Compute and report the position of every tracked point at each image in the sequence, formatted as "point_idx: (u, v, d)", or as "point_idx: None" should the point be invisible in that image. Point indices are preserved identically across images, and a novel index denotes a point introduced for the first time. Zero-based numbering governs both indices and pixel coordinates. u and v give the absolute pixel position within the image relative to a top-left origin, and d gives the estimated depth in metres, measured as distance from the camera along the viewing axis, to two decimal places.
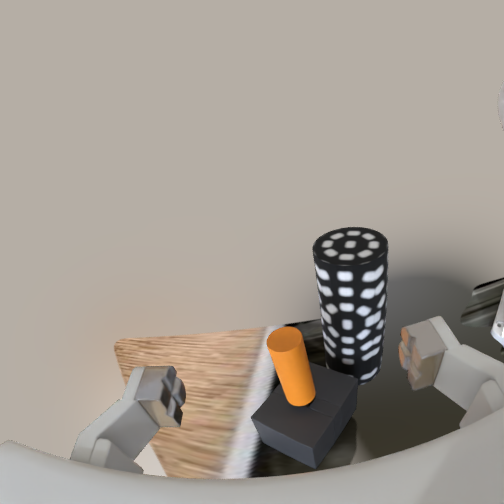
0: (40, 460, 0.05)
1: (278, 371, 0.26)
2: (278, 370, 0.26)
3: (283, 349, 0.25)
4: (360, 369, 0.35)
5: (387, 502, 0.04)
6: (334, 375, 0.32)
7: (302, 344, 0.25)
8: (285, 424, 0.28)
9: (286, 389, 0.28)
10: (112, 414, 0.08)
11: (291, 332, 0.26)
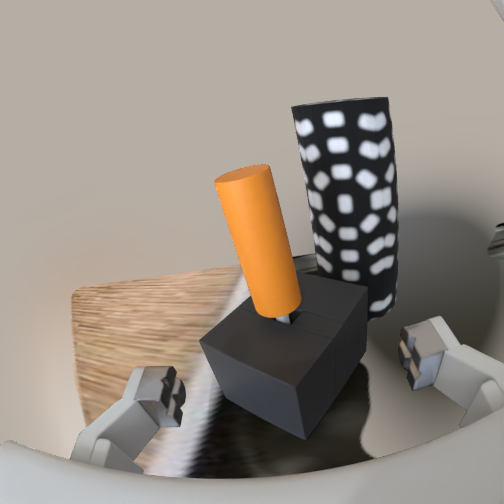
0: (40, 460, 0.05)
1: (234, 234, 0.17)
2: (233, 231, 0.17)
3: (237, 178, 0.15)
4: (369, 291, 0.26)
5: (387, 502, 0.04)
6: (332, 284, 0.23)
7: (270, 178, 0.16)
8: (252, 349, 0.18)
9: (249, 277, 0.18)
10: (112, 414, 0.08)
11: (254, 167, 0.17)
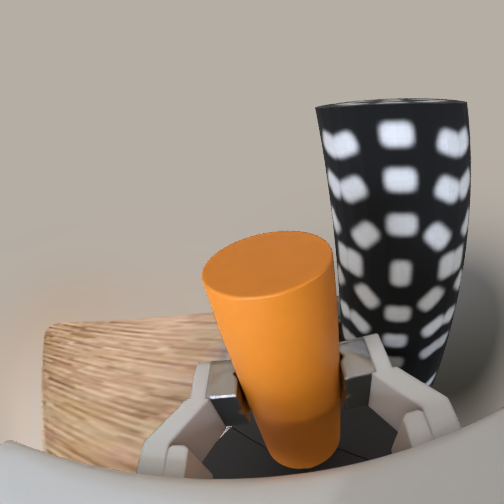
0: (40, 460, 0.05)
1: (242, 379, 0.08)
2: (242, 376, 0.08)
3: (258, 286, 0.06)
4: None
5: (387, 502, 0.04)
6: None
7: (333, 280, 0.07)
8: None
9: (265, 431, 0.09)
10: (182, 416, 0.07)
11: (292, 241, 0.08)
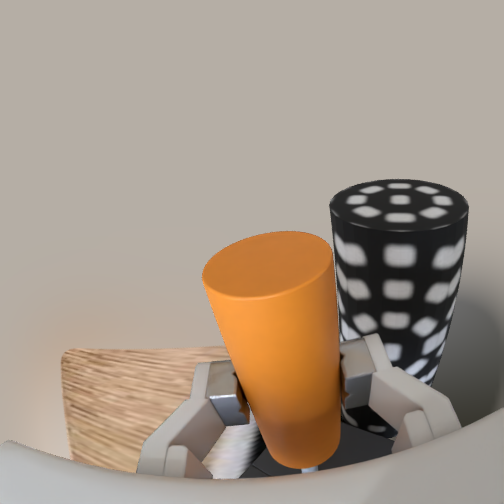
0: (40, 460, 0.05)
1: (242, 380, 0.08)
2: (242, 376, 0.08)
3: (258, 286, 0.06)
4: None
5: (387, 502, 0.04)
6: (362, 438, 0.16)
7: (333, 280, 0.07)
8: None
9: (265, 431, 0.09)
10: (182, 416, 0.07)
11: (292, 242, 0.08)
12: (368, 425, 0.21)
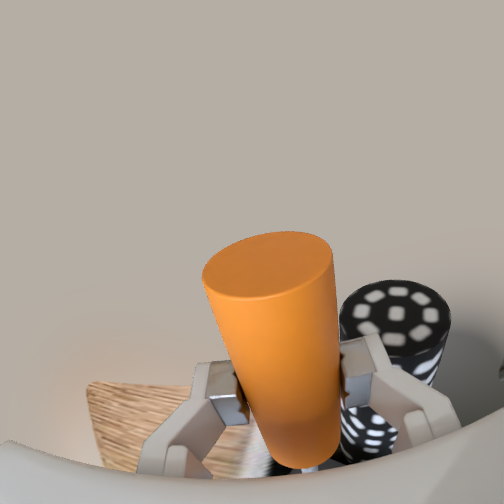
0: (40, 460, 0.05)
1: (242, 380, 0.08)
2: (242, 377, 0.08)
3: (258, 287, 0.06)
4: (384, 455, 0.23)
5: (387, 502, 0.04)
6: None
7: (332, 280, 0.07)
8: None
9: (265, 431, 0.09)
10: (182, 416, 0.07)
11: (292, 242, 0.08)
12: (361, 459, 0.24)
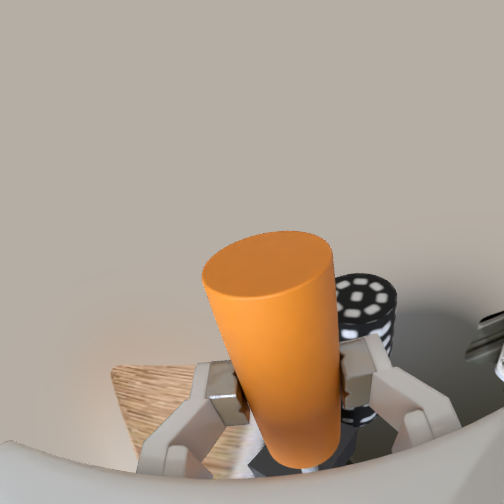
0: (40, 460, 0.05)
1: (242, 380, 0.08)
2: (242, 376, 0.08)
3: (258, 286, 0.06)
4: (360, 414, 0.32)
5: (387, 502, 0.04)
6: None
7: (332, 280, 0.07)
8: (282, 474, 0.25)
9: (265, 431, 0.09)
10: (182, 416, 0.07)
11: (292, 241, 0.08)
12: (342, 418, 0.34)
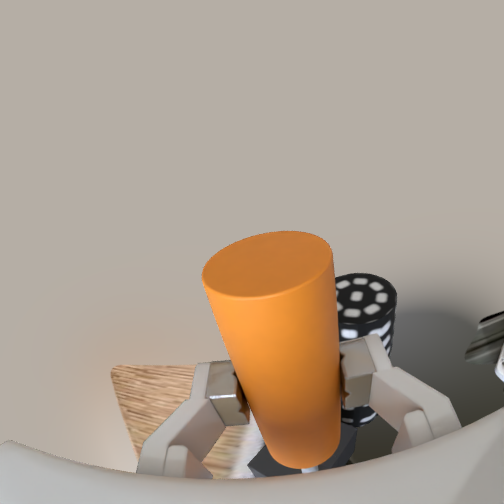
0: (40, 460, 0.05)
1: (242, 380, 0.08)
2: (242, 376, 0.08)
3: (258, 287, 0.06)
4: (360, 414, 0.32)
5: (387, 502, 0.04)
6: None
7: (332, 280, 0.07)
8: (282, 474, 0.25)
9: (265, 431, 0.09)
10: (182, 416, 0.07)
11: (292, 241, 0.08)
12: (341, 417, 0.34)
